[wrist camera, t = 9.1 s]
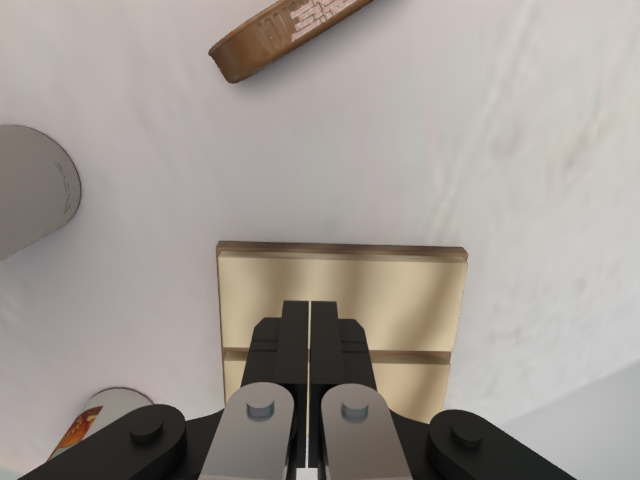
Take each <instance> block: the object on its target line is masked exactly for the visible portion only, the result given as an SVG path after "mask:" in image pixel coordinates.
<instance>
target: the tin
mask: <svg viewBox="0 0 640 480" xmlns="http://www.w3.org/2000/svg"><path fill="white" fill-rule="evenodd" d="M372 1H373V0H279V1H277V2H276V3H274V4H273V5H271V6H270V7H268V8H266V9H265V10H263V11H261V12H260V13H258V14H257V15H255V16H254V17H252V18H251V19H249V20H247V21H246V22H244V23H243V24H242V25H240V26H239V27H237V28H236V29H235V30H233V31H232V32H230V33H229V34H228V35H227V36H225V37H224V38H222V39H221V40H220V41H219V42H217V43H216V44H215V45H214V46H213V47H212V48H211V49H210V50H209V52H208V54H209V56H211V57H212V58H213V59H214V61H215V63H216V64H217V66H218V68H219V69H220V71H221V73H222V74H223V76H224V77H225V79H226V80H227V81H228V82H229V83H238V82H240V81H242V80H244V79H246V78H248V77H250V76H251V75H253V74H255V73H256V72H258V71H260V70H261V69H263V68H265V67H266V66H268V65H270V64H271V63H273V62H274V61H276V60H278V59H279V58H281V57H283V56H284V55H286V54H288V53H289V52H291V51H293V50H294V49H296V48H298V47H299V46H301V45H303V44H304V43H306V42H308V41H310V40H311V39H313V38H315V37H316V36H318V35H319V34H321V33H323V32H324V31H326V30H328V29H329V28H331V27H333V26H334V25H336V24H337V23H339V22H340V21H342V20H344V19H345V18H347V17H348V16H350V15H351V14H353V13H355V12H356V11H358V10H359V9H361V8H362V7H364V6H365V5H367V4H369V3H370V2H372Z"/></svg>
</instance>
